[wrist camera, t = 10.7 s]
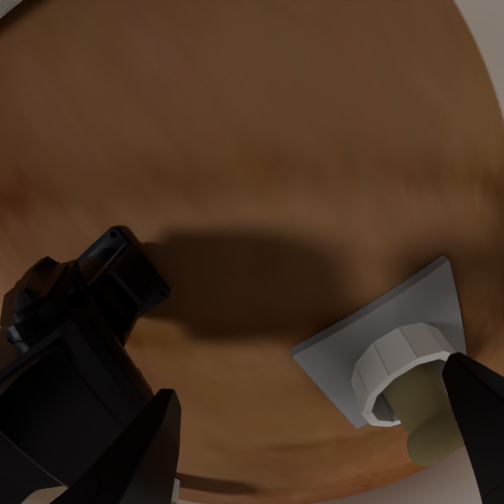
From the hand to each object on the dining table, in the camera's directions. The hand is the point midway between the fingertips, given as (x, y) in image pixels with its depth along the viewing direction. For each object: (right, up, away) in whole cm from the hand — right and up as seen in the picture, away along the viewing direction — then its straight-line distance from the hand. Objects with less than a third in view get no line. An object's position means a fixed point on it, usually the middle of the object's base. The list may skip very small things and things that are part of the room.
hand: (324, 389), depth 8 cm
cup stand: (+12, -6, +17) cm, 22 cm away
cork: (+12, -6, +16) cm, 21 cm away
